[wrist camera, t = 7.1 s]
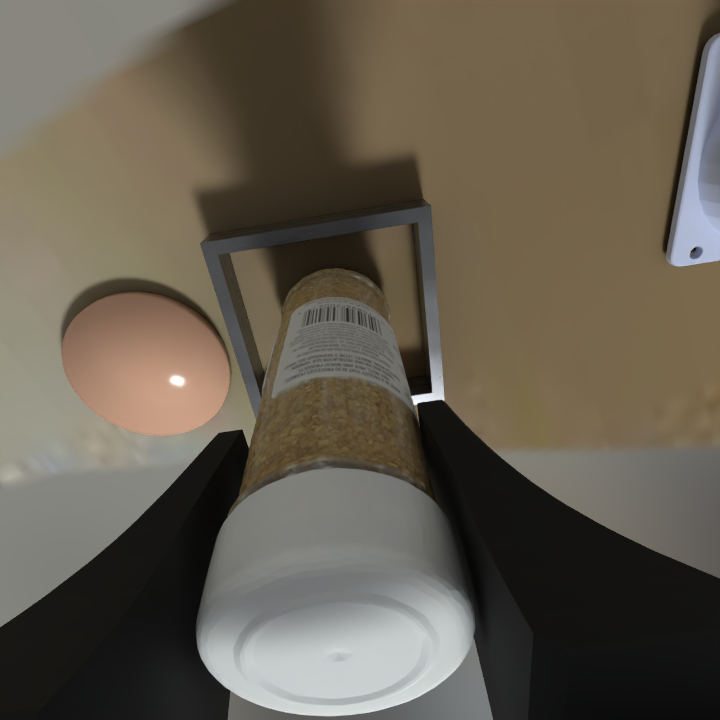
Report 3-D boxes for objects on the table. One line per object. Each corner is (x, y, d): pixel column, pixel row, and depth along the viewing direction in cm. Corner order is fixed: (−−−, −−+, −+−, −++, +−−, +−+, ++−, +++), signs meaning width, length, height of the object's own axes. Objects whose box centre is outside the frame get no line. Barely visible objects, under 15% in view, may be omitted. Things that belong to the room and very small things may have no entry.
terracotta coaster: (203, 279, 18) (200, 282, 18) (249, 417, 22) (247, 423, 21) (37, 305, 18) (30, 310, 18) (108, 438, 22) (103, 445, 21)
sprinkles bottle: (267, 342, 19) (155, 704, 7) (306, 245, 17) (240, 526, 5) (363, 378, 20) (399, 744, 8) (411, 291, 18) (542, 608, 7)
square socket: (423, 199, 17) (431, 205, 16) (437, 383, 21) (444, 400, 20) (210, 234, 17) (200, 243, 16) (263, 409, 21) (259, 428, 20)
